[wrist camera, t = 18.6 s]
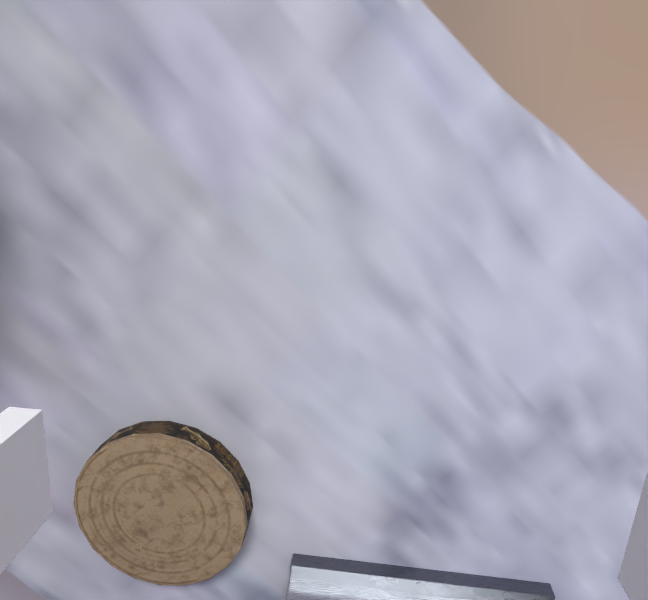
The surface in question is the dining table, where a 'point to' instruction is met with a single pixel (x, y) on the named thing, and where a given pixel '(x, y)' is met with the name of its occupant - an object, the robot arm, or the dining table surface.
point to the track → (399, 583)
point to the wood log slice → (164, 503)
